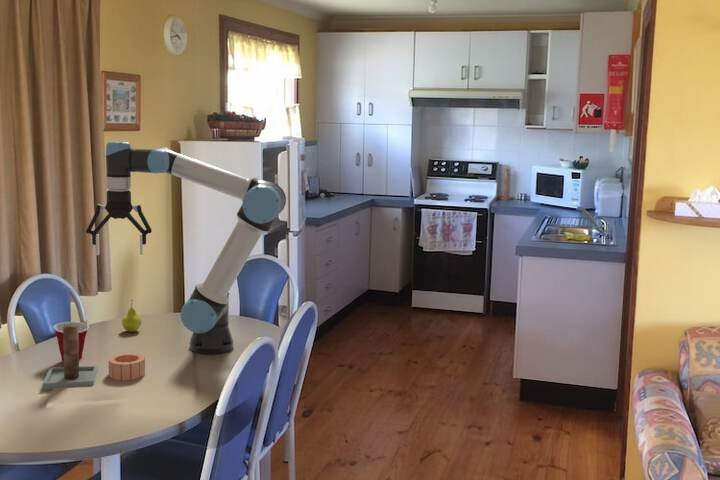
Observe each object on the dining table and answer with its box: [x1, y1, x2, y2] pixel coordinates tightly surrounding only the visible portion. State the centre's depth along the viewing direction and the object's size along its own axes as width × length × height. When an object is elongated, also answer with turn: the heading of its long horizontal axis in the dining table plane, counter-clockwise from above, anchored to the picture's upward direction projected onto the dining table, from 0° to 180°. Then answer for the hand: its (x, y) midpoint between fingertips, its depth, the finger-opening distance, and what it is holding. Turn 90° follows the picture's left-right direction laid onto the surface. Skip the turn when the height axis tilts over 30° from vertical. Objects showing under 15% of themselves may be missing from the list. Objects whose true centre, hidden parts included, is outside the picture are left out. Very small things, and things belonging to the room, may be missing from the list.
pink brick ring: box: [107, 352, 146, 381], centre depth 225 cm, size 11×11×6 cm
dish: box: [42, 364, 99, 392], centre depth 220 cm, size 14×14×2 cm
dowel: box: [63, 324, 80, 380], centre depth 219 cm, size 4×4×16 cm
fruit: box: [121, 299, 142, 333], centre depth 272 cm, size 7×7×12 cm
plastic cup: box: [53, 321, 90, 364], centre depth 237 cm, size 11×11×12 cm
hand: (119, 254), depth 239 cm, fingers open, 13 cm apart
